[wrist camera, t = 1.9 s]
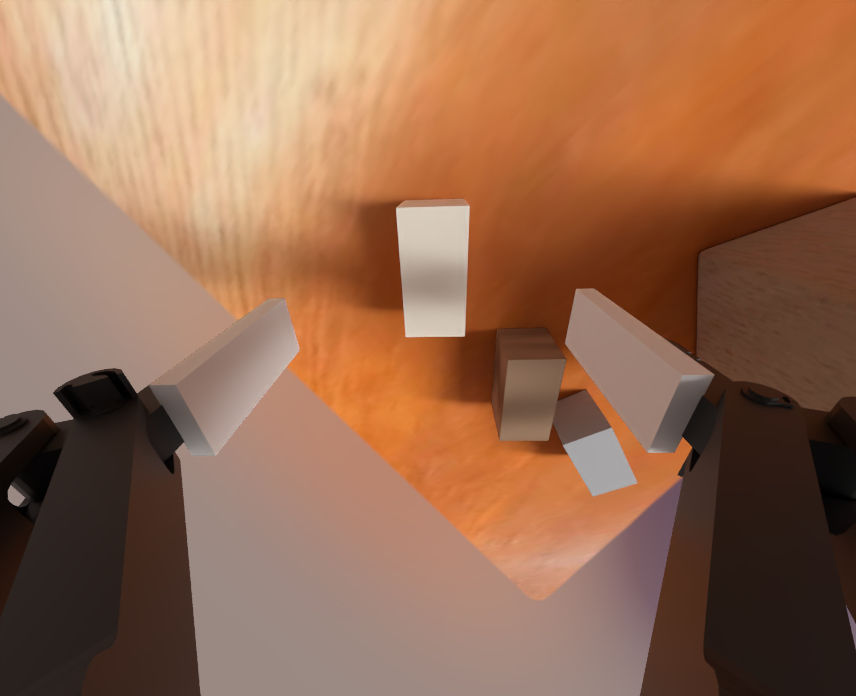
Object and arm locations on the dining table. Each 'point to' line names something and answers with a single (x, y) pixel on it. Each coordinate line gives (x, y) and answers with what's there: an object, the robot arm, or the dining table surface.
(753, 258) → the wooden block
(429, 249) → the cream brick
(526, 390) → the walnut brick
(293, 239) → the dining table surface
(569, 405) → the slate brick
